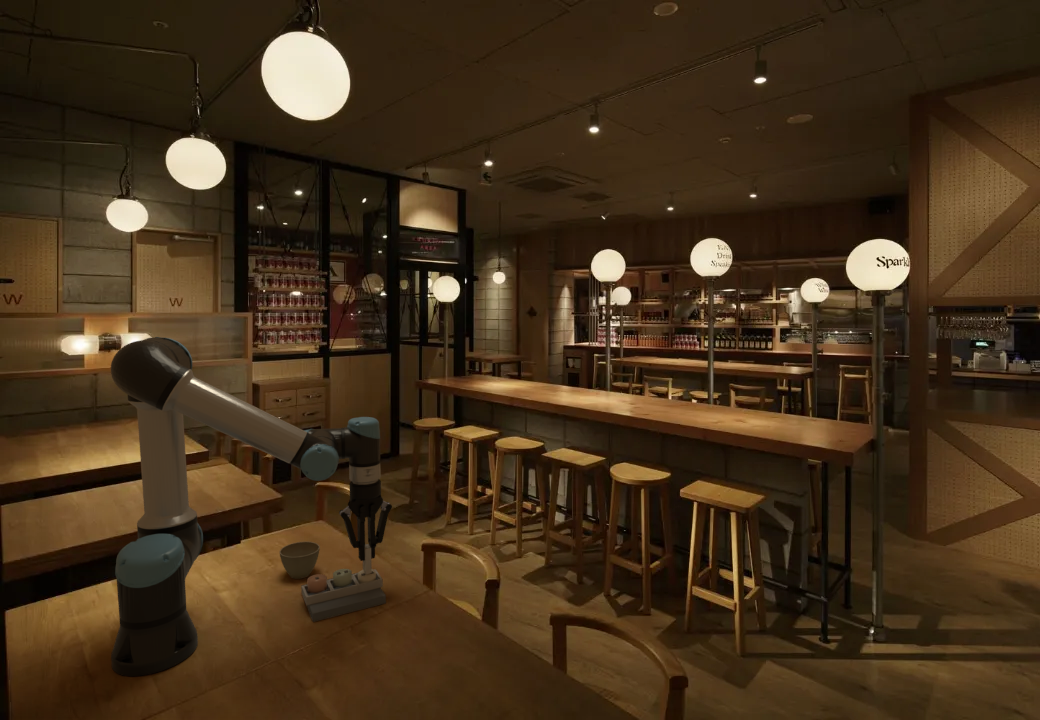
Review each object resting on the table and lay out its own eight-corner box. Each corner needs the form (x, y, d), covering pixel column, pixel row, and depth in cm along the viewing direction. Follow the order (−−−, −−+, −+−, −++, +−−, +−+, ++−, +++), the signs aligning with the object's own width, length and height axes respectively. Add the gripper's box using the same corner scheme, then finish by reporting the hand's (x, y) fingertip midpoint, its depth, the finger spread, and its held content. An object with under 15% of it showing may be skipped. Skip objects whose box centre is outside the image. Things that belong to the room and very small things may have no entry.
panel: (310, 622, 132) (309, 606, 131) (299, 593, 145) (298, 578, 144) (388, 602, 141) (388, 586, 140) (371, 576, 154) (370, 562, 153)
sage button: (335, 588, 139) (335, 577, 139) (331, 580, 143) (331, 570, 143) (353, 584, 142) (353, 573, 141) (349, 576, 145) (349, 566, 145)
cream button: (360, 588, 142) (360, 577, 142) (356, 580, 146) (355, 570, 146) (378, 584, 145) (378, 573, 144) (373, 576, 148) (373, 566, 148)
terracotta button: (309, 594, 136) (309, 583, 136) (306, 586, 140) (305, 576, 140) (328, 590, 139) (328, 579, 138) (324, 582, 142) (324, 571, 142)
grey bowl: (307, 585, 149) (306, 558, 148) (272, 581, 151) (271, 555, 150) (327, 568, 159) (326, 542, 158) (294, 564, 161) (293, 539, 160)
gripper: (341, 488, 136) (344, 583, 139) (395, 480, 143) (397, 571, 145) (334, 479, 143) (337, 571, 145) (386, 472, 149) (388, 559, 152)
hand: (367, 571), depth 145 cm, fingers closed
